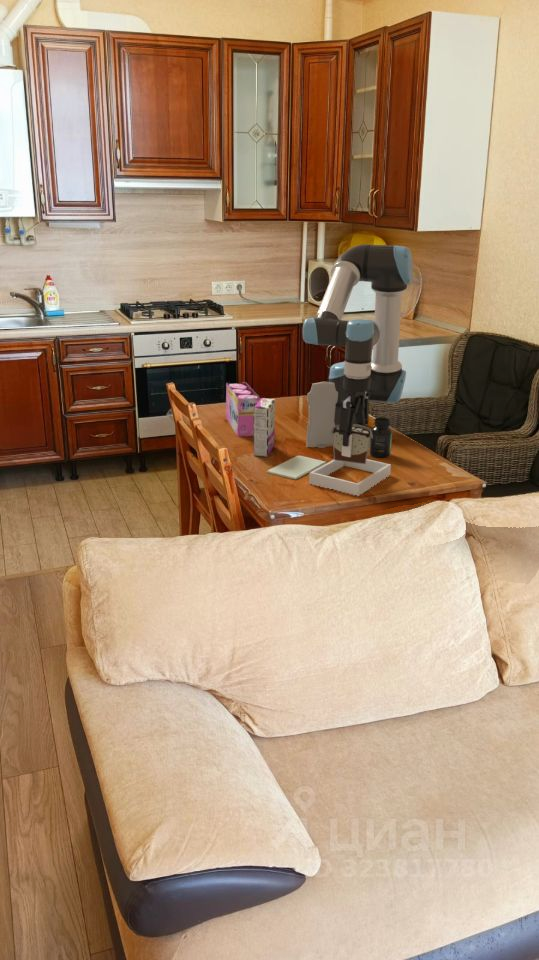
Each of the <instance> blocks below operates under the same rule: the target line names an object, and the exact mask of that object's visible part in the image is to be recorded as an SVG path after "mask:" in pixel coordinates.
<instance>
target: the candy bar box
mask: <svg viewBox="0 0 539 960" xmlns="http://www.w3.org/2000/svg"><path fill="white" fill-rule="evenodd" d="M275 413H276V399H275V398H269V397H268V398H266V397H261V398H260V400H259V402H258V403H257V404H256V405H255V407H254V436H253V456H255V457H266V458H267V457H269V455H270V454H271V452H272V450H273V449H274V447H275V421H276V420H275V417H276V416H275V415H276V414H275Z"/></svg>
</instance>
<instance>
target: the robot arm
mask: <svg viewBox="0 0 539 960" xmlns="http://www.w3.org/2000/svg"><path fill="white" fill-rule="evenodd" d="M413 274H414V265H413V255H412V252H411V249H410V248H409V247H408V246H401V245H396V244H395V245H393V244H391V245H390V244H388V245H387V244H367V243H364V244H358V245H355V246H352V247H351V248H349V249H347V250H346V251H344V252H343V253H342V254H341V255H340V256H338V257H337V259H336V260H335V261H334V263H333V264H332V267H331V269H330V277H331V278H330V281H329V283H328V285H327V288H326V289H325V293H324V295H323V297H322V301H321V303H320V305H319V307H318V310H317V313H316V314H315V317H307V318H306V319H305V320H304V321H303V324H302V339H303V342H305V344H310V345H311V344H312V345H316V346H318V345H320V346H330V347H331V346H332V347H341V348H343V347H344V348H345V350H344V351H345V352H344V361H342V362H337V363H334V364H332V365H331V367H330V368H329V375H328V382H330V383H335V389H336V391H337V392H338V400H337V403H336V404H335V406H336V407H335V414H334V415H335V418H334V423H335V426H336V425H339V434H342V435H343V439H342V456H346V457H351V449H352V435H351V431H352V426H353V424H358V425H363V426H366V427H368V428H369V421H370V420H369V416H370V415H369V413H370V411H369V410H370V402H376V403H377V402H378V403H385V404H388V403H389V404H396V403H398V402H399V401H400V400H401V398H402V394H403V390H404V386H405V382H406V378H407V371H406V370H404V369H403V364H402V363H401V362H400V361H399V351H400V350H399V348H400V329H401V315H402V297H403V296H402V295H403V294H404V292H405V291H407V289H408V285H411V284H412V282H413ZM359 282H369V283H370V285H371V288H370V289H371V290H372V291H373V292H374V293H375V300H374V301H375V303H374V305H375V306H374V320H372V319H362V318H361V319H360V318H359V319H357V318H356V319H355V318H354V319H351V320H344V319H343V320H342V318H343V316H344V313H345V310H346V307H347V305H348V303H349V300H350V298H351V294H352V292H353V289H354V287H355V286H357V284H358V283H359Z"/></svg>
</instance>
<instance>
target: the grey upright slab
mask: <svg viewBox="0 0 539 960" xmlns="http://www.w3.org/2000/svg"><path fill="white" fill-rule="evenodd" d="M311 384H312V385H311V388H310V391H309V392H307V397H306V399H307V400H306V401H307V405H308V424H307V426H306V448H307V447H318V448H319V449H324V448H329V447H328V446H330V447H333V433H332V434H331V430H332V428H333V427H334V426H335V423H334V418H335V415H334V414H335V407H336V406H335V404H336V403H337V400H338V392H337V391H336V389H335V383H330V382H329V381H320V382H315V383H311Z"/></svg>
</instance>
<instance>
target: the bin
mask: <svg viewBox="0 0 539 960" xmlns="http://www.w3.org/2000/svg"><path fill="white" fill-rule="evenodd" d="M343 467H349V468H353V469H356V470H361V471H365V472H369V473H371V474H370V475H368V476H366V478H364V479H362V480H360V481H359V482H354V481H350V480H346V479H341V478H338V477H333V476H330V475H331V474H333V473H334V472H336V471H338V470H339V469H341V468H343ZM391 469H392V464H390V463H386V462H381V461H377V460H374V459H373V460H372V459H369V458H367V460H366V464H358V463H351V462H343V461H336V460H334V459H332V460H330V461H328V462H327V463H325V464H324V465H322V466H320V467H318V468H316V469H314V470H312V471H311V472H309V473H308V474H309V476H308V477H309V478H308V484H309V485H311V484H312V485H311V486H315V485H316V487H319V486H320V487H319V488H323V487H324V489H327V488H329V489H328V490H331V489H334V490H333V491H335V490H338V491H337V492H339V491H342V492H341V493H343V492H346V493H345V494H347V493H349V494H348V495H351V494H353V495H352V496H355V495H357V496H356V497H359V496H361V495H363V494H364V493H365V492H367V491H368V490H370V489H372V488H373V487H375V486H376V485H377V483H378V484H380V483H381V482H382V481H384V480H385V479H387V478H388V477H390V476H391V471H392V470H391ZM332 472H333V473H332ZM330 473H331V474H330ZM389 475H390V476H389ZM386 477H387V478H386ZM383 479H384V480H383ZM381 480H382V481H381ZM380 481H381V482H380ZM374 485H375V486H374ZM371 487H372V488H371ZM360 494H361V495H360Z"/></svg>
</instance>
